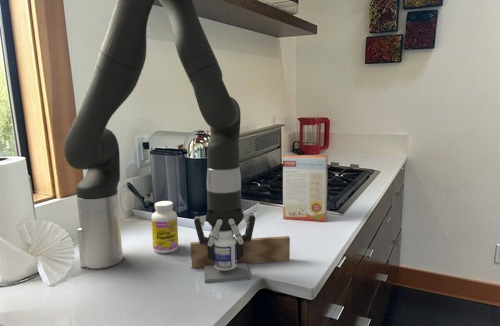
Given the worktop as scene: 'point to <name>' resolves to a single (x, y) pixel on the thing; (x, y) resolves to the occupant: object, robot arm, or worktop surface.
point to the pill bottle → (225, 251)
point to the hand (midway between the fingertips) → (225, 258)
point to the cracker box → (305, 187)
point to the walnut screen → (248, 251)
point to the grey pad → (226, 273)
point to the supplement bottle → (164, 228)
